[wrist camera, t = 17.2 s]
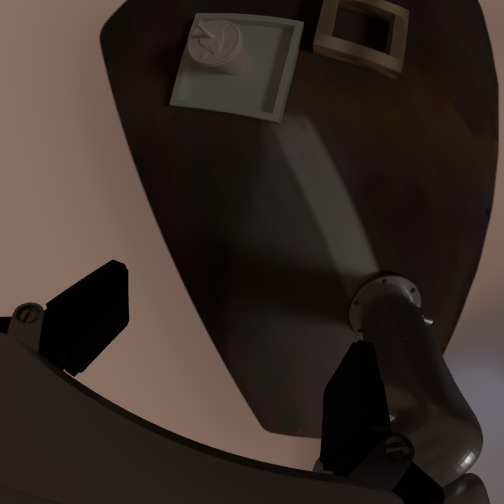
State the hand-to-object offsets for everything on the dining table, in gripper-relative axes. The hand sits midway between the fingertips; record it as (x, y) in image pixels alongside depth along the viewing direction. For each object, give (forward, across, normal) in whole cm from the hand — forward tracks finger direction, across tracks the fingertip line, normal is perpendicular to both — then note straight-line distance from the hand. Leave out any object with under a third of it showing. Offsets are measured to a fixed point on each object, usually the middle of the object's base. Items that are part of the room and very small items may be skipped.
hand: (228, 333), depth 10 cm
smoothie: (+30, +12, -18) cm, 37 cm away
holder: (+30, -4, -28) cm, 41 cm away
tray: (+30, +12, -18) cm, 37 cm away
